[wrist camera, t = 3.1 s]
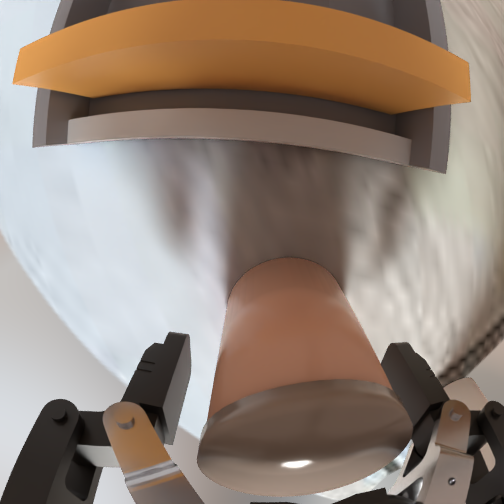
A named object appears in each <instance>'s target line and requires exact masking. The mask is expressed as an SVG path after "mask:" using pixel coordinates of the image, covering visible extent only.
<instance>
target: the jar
mask: <svg viewBox="0 0 504 504" xmlns="http://www.w3.org/2000/svg"><path fill="white" fill-rule="evenodd" d="M412 433H413V425H412V422H411V420H410V417H409V415H408V413H407V411H406V408H405V406H404V404H403V402H402V400H401V398H400V397H399V395H398V394H397V393H396V392H394V391H393V389H392V387H391V385H390V383H389V381H388V378H387V376H386V374H385V372H384V370H383V368H382V366H381V364H380V362H379V360H378V358H377V356H376V354H375V352H374V350H373V348H372V346H371V344H370V342H369V340H368V338H367V336H366V334H365V332H364V330H363V328H362V326H361V325H360V323H359V321H358V319H357V317H356V315H355V313H354V311H353V310H352V308H351V306H350V304H349V302H348V300H347V298H346V297H345V295H344V293H343V291H342V289H341V288H340V286H339V284H338V282H337V281H336V279H335V278H334V277H333V275H332V274H331V273H330V272H329V271H327V270H326V269H325V268H324V267H322V266H320V265H319V264H317V263H315V262H312V261H309V260H306V259H302V258H294V257H285V258H277V259H272V260H269V261H266V262H263V263H261V264H259V265H257V266H255V267H253V268H252V269H250V270H249V271H247V272H246V273H245V274H244V275H243V276H242V277H241V278H240V279H239V280H238V281H237V283H236V284H235V286H234V287H233V289H232V291H231V293H230V296H229V300H228V304H227V310H226V315H225V321H224V326H223V332H222V337H221V343H220V349H219V354H218V360H217V366H216V371H215V377H214V383H213V389H212V395H211V400H210V406H209V412H208V418H207V422H206V424H205V425H204V427H203V430H202V433H201V437H200V443H199V450H198V455H197V464H198V467H199V468H200V470H201V471H202V473H203V474H204V475H205V476H206V477H208V478H209V479H210V480H212V481H214V482H215V483H217V484H219V485H221V486H224V487H226V488H229V489H232V490H235V491H239V492H243V493H248V494H254V495H261V496H281V497H282V496H300V495H308V494H315V493H320V492H325V491H329V490H333V489H336V488H340V487H343V486H346V485H349V484H351V483H354V482H356V481H359V480H361V479H363V478H365V477H367V476H369V475H371V474H373V473H375V472H377V471H378V470H380V469H381V468H383V467H384V466H386V465H387V464H389V463H390V462H391V461H392V460H394V459H395V458H396V457H397V456H398V455H399V454H400V453H401V452H402V451H403V450H404V449H405V447H406V446H407V444H408V443H409V441H410V439H411V437H412Z"/></svg>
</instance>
